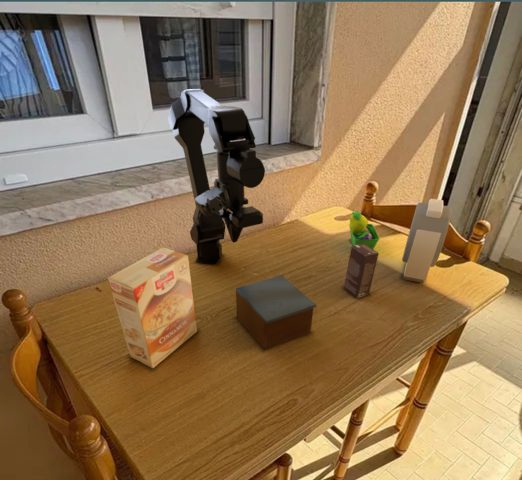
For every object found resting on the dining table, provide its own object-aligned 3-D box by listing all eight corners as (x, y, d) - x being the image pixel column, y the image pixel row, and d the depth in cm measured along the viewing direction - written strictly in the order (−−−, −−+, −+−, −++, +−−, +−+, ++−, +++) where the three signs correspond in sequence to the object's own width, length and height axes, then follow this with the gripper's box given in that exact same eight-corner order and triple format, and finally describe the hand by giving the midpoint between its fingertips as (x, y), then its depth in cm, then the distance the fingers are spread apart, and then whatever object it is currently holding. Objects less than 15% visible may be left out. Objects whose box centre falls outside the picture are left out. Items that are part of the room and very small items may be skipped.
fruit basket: (376, 254, 117) (385, 219, 110) (348, 254, 117) (354, 218, 110) (369, 238, 126) (376, 204, 119) (342, 238, 126) (348, 204, 119)
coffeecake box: (153, 369, 79) (133, 288, 66) (128, 356, 81) (104, 277, 69) (199, 331, 88) (189, 254, 75) (175, 321, 91) (162, 245, 78)
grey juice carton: (427, 290, 102) (453, 217, 89) (395, 284, 104) (415, 211, 91) (431, 261, 115) (454, 192, 101) (402, 255, 117) (421, 188, 104)
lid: (315, 307, 83) (316, 304, 82) (266, 323, 78) (266, 321, 77) (281, 277, 92) (281, 274, 91) (235, 290, 87) (235, 288, 87)
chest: (310, 332, 88) (313, 305, 83) (264, 349, 84) (264, 321, 78) (280, 304, 97) (281, 277, 92) (236, 318, 92) (235, 290, 87)
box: (370, 294, 101) (379, 252, 93) (356, 298, 99) (364, 256, 91) (356, 283, 105) (364, 242, 97) (342, 287, 103) (350, 246, 95)
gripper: (181, 170, 87) (189, 235, 97) (216, 193, 75) (221, 265, 85) (224, 163, 92) (228, 226, 102) (264, 184, 79) (264, 253, 89)
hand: (234, 241), depth 94 cm, fingers closed
